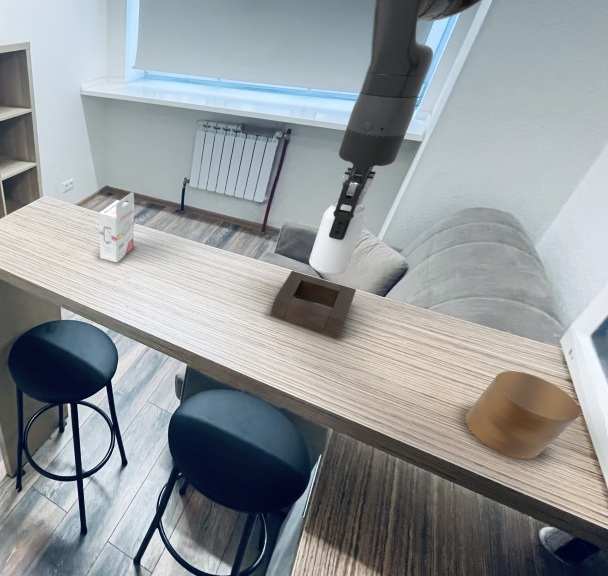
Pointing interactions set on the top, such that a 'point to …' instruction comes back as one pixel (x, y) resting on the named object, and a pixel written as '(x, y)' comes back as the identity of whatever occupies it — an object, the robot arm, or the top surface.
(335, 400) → the top surface
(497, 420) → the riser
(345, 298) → the can stand
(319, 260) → the beverage can
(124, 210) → the ink cartridge box
